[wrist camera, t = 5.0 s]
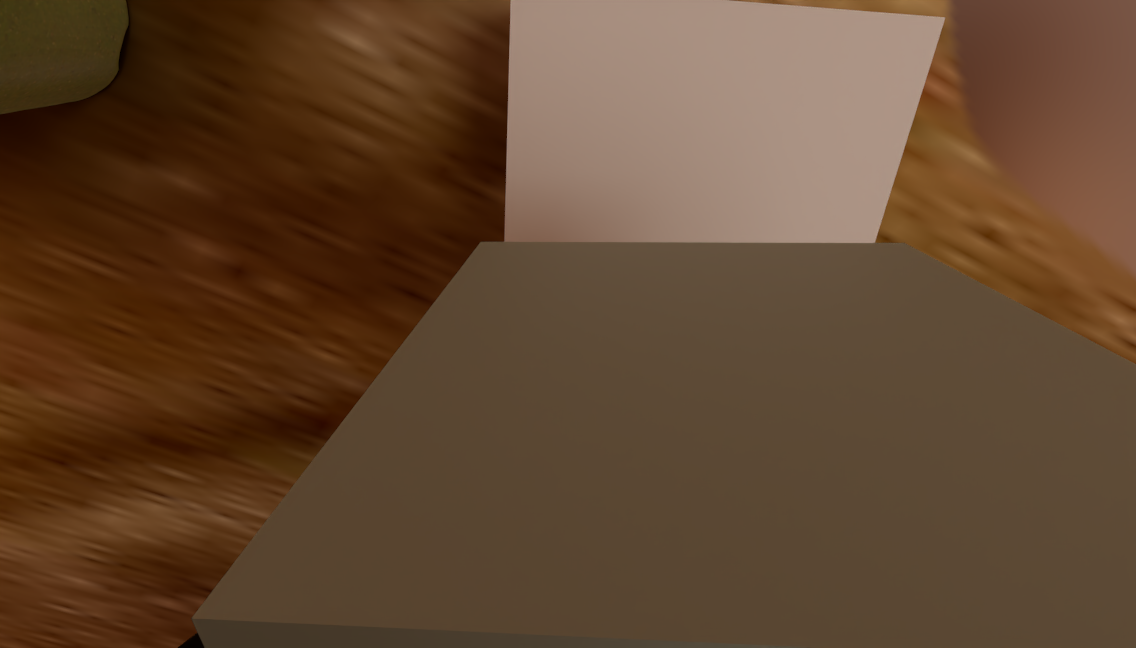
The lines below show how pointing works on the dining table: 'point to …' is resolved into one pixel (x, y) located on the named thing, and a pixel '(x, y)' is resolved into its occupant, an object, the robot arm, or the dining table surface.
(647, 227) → the plinth
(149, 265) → the dining table surface
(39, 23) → the plant pot
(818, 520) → the sage cube
